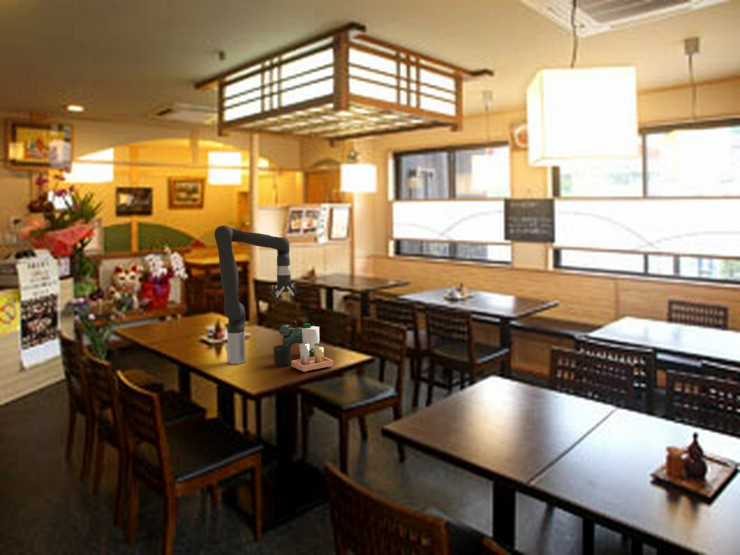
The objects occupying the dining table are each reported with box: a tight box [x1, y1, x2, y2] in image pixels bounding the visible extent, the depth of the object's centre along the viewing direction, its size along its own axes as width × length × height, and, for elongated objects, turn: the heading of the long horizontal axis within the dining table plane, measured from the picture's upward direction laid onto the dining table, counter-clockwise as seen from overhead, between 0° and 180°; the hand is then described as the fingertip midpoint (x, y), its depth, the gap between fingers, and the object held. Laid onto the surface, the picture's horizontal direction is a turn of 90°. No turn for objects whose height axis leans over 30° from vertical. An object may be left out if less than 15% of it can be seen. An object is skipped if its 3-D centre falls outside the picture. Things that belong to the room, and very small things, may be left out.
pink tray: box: [290, 356, 335, 374], centre depth 284 cm, size 18×13×4 cm
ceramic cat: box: [279, 320, 303, 347], centre depth 313 cm, size 20×6×20 cm, turn 76°
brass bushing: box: [314, 345, 325, 363], centre depth 286 cm, size 5×5×8 cm
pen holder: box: [273, 344, 292, 368], centre depth 291 cm, size 9×9×10 cm
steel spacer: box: [298, 343, 310, 366], centre depth 281 cm, size 5×5×11 cm
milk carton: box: [301, 322, 321, 357], centre depth 301 cm, size 9×9×20 cm
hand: (284, 303), depth 297 cm, fingers open, 8 cm apart
